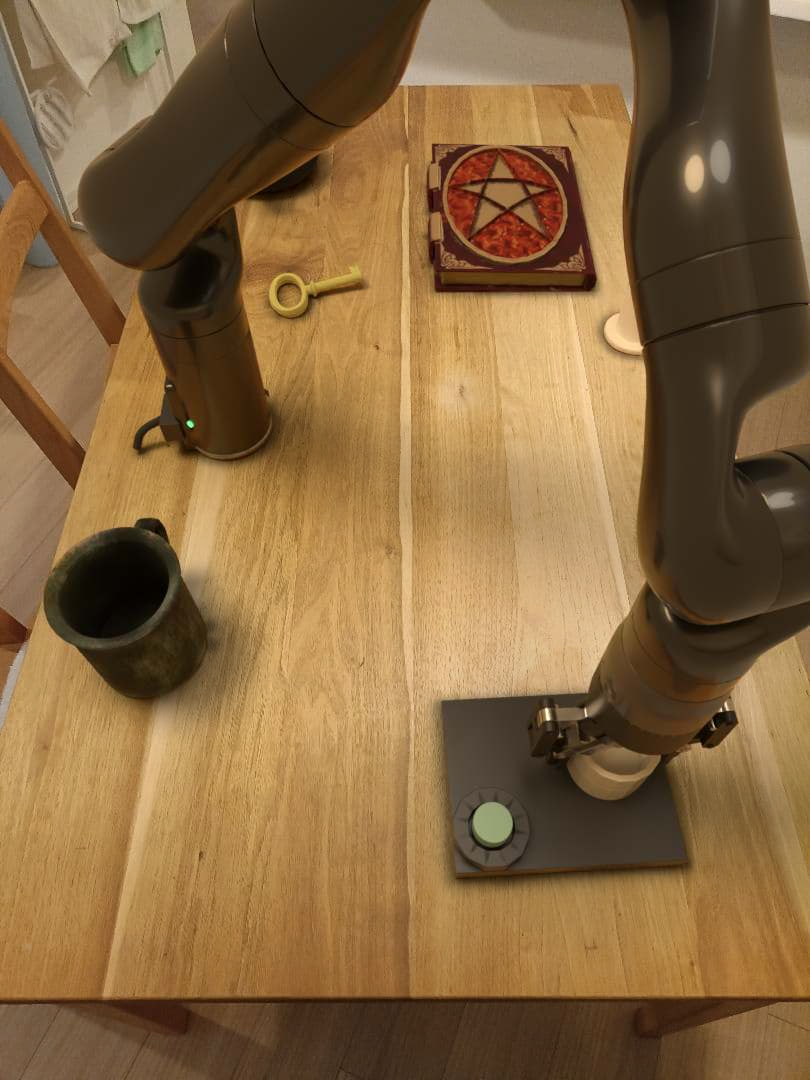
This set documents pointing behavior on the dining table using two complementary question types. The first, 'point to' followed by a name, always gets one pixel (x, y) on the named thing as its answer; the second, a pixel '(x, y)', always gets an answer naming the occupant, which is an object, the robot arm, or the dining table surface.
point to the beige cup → (611, 771)
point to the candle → (624, 328)
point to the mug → (127, 609)
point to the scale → (544, 800)
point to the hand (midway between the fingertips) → (607, 755)
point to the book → (507, 219)
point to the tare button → (492, 824)
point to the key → (308, 289)
